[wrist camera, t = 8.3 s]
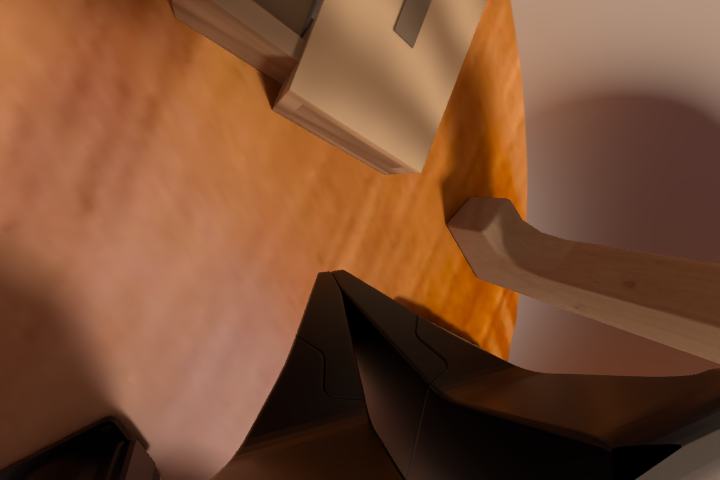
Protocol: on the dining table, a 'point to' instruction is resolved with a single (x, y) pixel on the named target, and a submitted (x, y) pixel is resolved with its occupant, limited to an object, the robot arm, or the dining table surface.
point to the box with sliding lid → (351, 66)
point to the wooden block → (594, 277)
